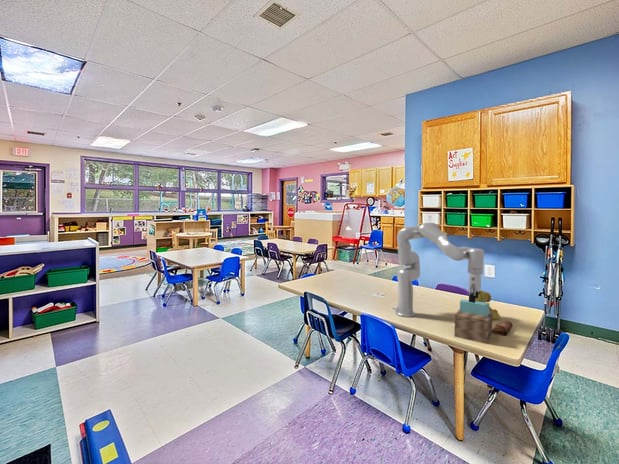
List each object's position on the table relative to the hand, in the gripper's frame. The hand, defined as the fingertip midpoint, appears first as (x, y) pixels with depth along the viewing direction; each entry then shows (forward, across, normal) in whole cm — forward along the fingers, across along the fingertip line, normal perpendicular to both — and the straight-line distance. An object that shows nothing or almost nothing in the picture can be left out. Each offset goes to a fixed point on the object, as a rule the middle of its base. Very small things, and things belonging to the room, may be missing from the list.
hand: (473, 300), depth 171 cm
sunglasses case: (+20, +16, -13) cm, 29 cm away
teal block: (+7, 0, -1) cm, 7 cm away
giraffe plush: (+20, +33, 0) cm, 39 cm away
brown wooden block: (+20, 0, -1) cm, 20 cm away
